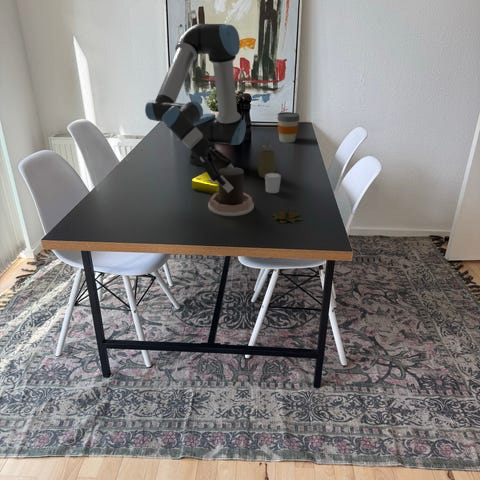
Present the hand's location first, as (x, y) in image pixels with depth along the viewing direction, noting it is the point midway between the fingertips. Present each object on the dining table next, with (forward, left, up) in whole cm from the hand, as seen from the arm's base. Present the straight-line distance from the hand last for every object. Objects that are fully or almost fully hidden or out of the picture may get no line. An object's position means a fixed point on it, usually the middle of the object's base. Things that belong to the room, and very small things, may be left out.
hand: (235, 184), depth 175 cm
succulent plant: (+5, +21, -10) cm, 24 cm away
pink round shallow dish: (0, -2, -10) cm, 10 cm away
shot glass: (-21, +11, -10) cm, 26 cm away
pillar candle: (0, -2, -9) cm, 9 cm away
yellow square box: (-20, -14, -10) cm, 27 cm away
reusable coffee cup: (-102, +6, -10) cm, 103 cm away
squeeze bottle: (-38, +5, -10) cm, 40 cm away
